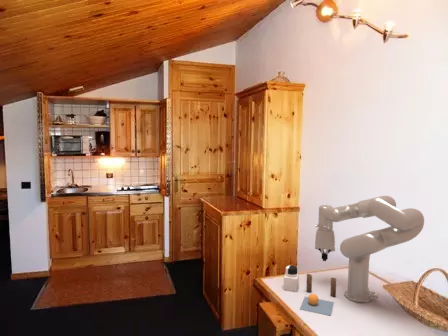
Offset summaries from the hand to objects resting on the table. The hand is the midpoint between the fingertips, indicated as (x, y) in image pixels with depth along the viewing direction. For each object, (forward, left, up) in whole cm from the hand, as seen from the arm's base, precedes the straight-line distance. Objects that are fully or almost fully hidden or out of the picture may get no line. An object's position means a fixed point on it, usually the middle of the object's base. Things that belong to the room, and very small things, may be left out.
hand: (324, 260), depth 178 cm
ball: (+2, +26, -11) cm, 29 cm away
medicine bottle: (+16, +13, -14) cm, 24 cm away
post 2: (-6, +13, -13) cm, 20 cm away
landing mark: (0, +27, -13) cm, 30 cm away
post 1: (+6, +13, -13) cm, 20 cm away
